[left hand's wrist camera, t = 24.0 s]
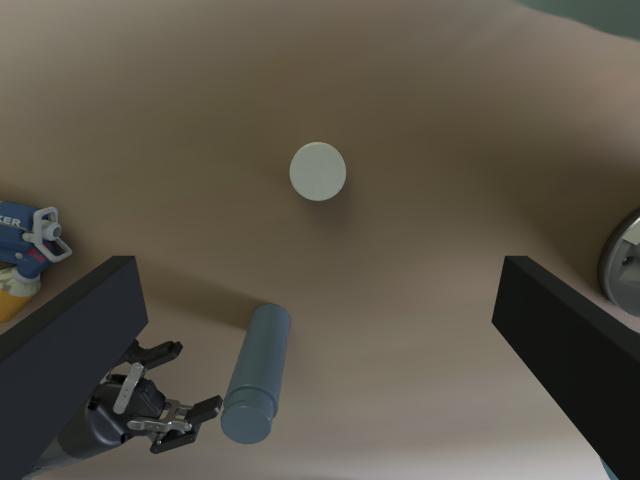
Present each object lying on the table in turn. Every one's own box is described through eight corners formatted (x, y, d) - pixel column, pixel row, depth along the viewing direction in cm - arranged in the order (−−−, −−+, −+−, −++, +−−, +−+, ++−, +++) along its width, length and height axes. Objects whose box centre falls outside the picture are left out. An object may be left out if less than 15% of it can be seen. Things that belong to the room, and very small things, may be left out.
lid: (310, 205, 38) (309, 211, 36) (280, 161, 36) (278, 164, 34) (354, 177, 37) (356, 181, 35) (326, 130, 35) (326, 132, 33)
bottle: (251, 302, 42) (215, 402, 28) (290, 304, 42) (275, 405, 28) (251, 335, 44) (218, 446, 30) (289, 337, 44) (274, 448, 30)
